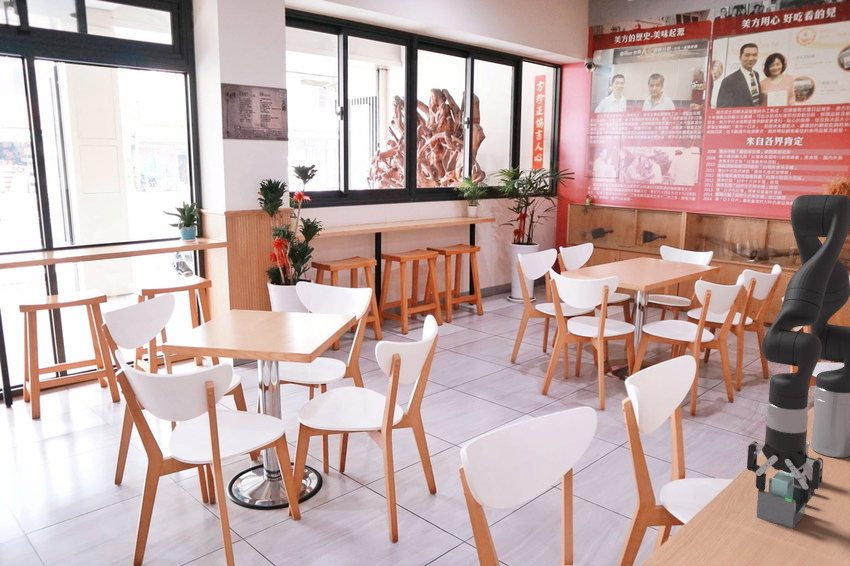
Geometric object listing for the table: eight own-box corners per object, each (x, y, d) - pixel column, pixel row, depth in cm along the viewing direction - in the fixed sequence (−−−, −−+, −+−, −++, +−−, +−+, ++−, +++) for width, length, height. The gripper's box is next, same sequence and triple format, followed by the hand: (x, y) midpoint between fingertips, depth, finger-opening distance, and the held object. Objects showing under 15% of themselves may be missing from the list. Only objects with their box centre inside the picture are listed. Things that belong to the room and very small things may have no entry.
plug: (776, 505, 142) (778, 470, 141) (792, 510, 140) (794, 475, 139) (769, 513, 139) (771, 478, 138) (785, 518, 137) (787, 482, 136)
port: (769, 505, 145) (771, 475, 144) (804, 516, 140) (806, 485, 139) (755, 520, 140) (757, 489, 138) (792, 532, 135) (794, 500, 133)
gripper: (830, 427, 134) (825, 501, 137) (756, 410, 144) (752, 480, 147) (820, 439, 129) (814, 515, 132) (743, 421, 139) (740, 492, 142)
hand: (781, 496), depth 139 cm, fingers open, 7 cm apart
